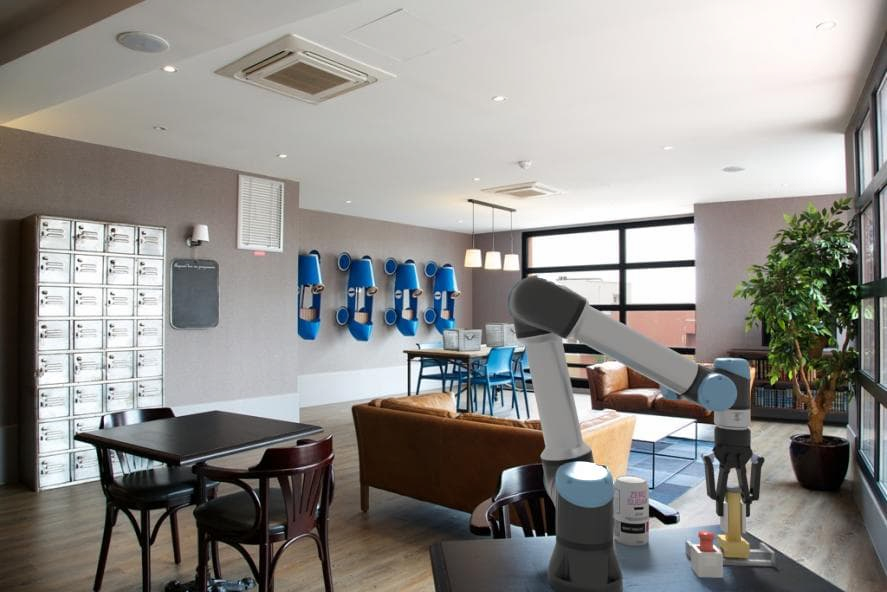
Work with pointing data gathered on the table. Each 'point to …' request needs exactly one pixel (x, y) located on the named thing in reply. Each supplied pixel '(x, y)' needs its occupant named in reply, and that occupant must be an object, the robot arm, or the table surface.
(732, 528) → the sliding lever handle
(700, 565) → the white button housing
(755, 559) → the rail
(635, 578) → the table surface
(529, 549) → the table surface
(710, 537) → the button
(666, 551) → the table surface
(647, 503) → the supplement can
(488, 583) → the table surface
